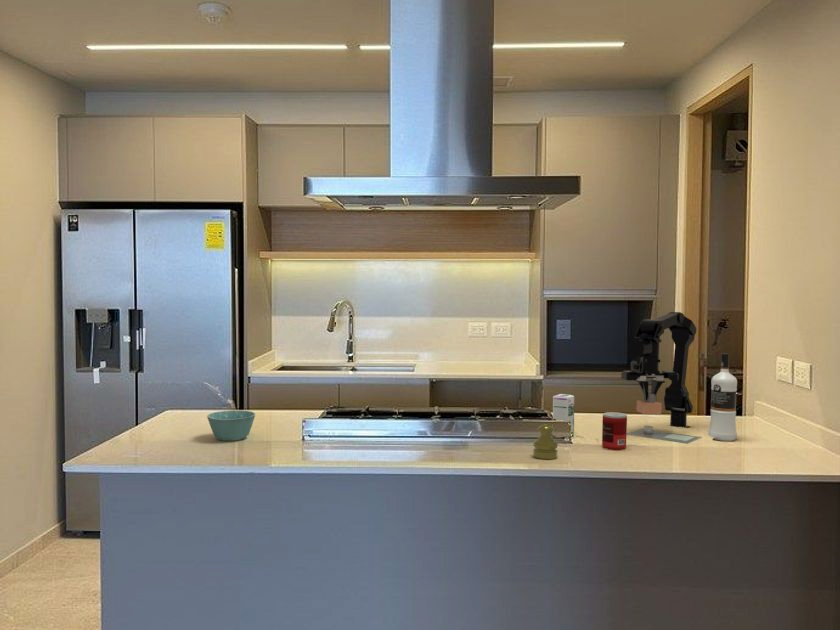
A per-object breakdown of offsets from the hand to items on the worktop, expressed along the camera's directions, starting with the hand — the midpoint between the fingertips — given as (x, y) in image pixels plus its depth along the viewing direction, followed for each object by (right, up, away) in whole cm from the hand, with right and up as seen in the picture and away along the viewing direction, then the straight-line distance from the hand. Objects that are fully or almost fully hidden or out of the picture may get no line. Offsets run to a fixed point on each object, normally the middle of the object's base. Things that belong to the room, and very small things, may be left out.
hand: (649, 399), depth 261 cm
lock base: (+4, -13, -3) cm, 14 cm away
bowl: (-144, -12, -12) cm, 145 cm away
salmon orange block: (0, -4, 0) cm, 4 cm away
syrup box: (-31, -13, -1) cm, 33 cm away
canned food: (-17, -14, -18) cm, 28 cm away
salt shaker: (-42, -14, -32) cm, 55 cm away
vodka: (+25, -14, -2) cm, 28 cm away
